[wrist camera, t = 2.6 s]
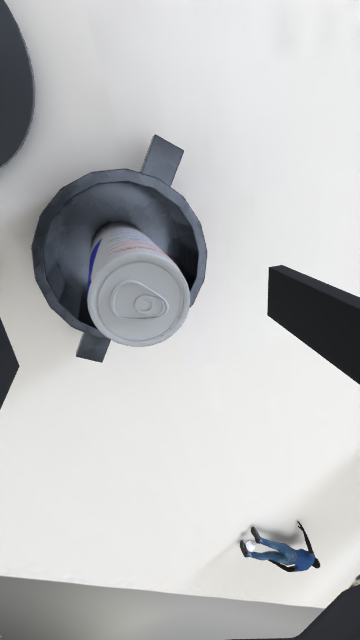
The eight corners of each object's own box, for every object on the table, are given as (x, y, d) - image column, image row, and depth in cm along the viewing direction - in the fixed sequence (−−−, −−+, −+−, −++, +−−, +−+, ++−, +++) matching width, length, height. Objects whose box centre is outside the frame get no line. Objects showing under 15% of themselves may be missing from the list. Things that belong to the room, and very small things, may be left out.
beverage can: (80, 231, 27) (66, 272, 14) (138, 212, 28) (176, 236, 15) (103, 286, 30) (110, 364, 17) (155, 268, 31) (202, 329, 17)
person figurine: (225, 543, 58) (294, 563, 63) (231, 569, 54) (305, 588, 59) (256, 505, 55) (326, 529, 60) (266, 529, 51) (340, 552, 56)
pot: (21, 314, 29) (4, 344, 24) (79, 109, 24) (75, 85, 18) (148, 348, 34) (158, 379, 29) (219, 184, 29) (248, 184, 24)
